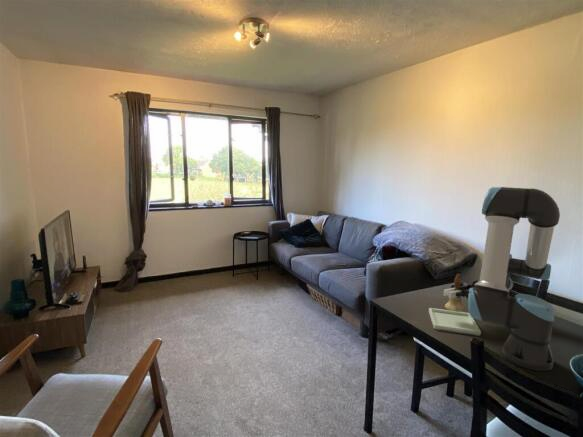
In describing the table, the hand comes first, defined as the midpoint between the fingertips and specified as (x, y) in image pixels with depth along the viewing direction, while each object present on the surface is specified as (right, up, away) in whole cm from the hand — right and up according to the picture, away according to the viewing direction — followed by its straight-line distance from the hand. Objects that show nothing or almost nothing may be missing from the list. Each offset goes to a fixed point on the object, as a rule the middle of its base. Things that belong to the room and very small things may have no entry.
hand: (446, 294), depth 141 cm
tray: (+4, -14, +4) cm, 15 cm away
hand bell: (+5, -7, +3) cm, 10 cm away
